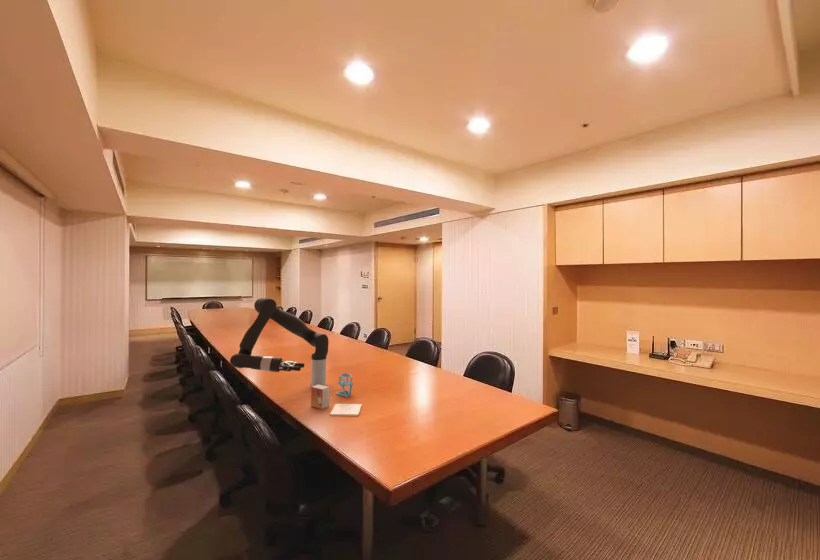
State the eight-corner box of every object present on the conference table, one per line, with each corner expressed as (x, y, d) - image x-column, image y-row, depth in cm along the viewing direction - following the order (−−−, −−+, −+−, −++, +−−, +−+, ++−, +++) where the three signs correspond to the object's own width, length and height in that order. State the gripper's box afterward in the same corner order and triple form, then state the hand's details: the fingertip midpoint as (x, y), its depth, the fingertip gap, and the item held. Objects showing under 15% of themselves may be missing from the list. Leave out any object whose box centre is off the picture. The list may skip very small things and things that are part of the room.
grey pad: (335, 405, 182) (335, 403, 182) (361, 405, 182) (361, 404, 182) (330, 415, 168) (330, 413, 168) (358, 416, 168) (358, 414, 168)
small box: (310, 406, 179) (311, 386, 179) (318, 403, 184) (318, 384, 184) (322, 409, 176) (322, 389, 176) (329, 406, 181) (329, 386, 181)
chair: (342, 398, 193) (343, 377, 193) (336, 394, 200) (336, 373, 200) (354, 395, 198) (355, 375, 198) (347, 391, 205) (348, 371, 205)
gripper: (268, 359, 172) (300, 362, 174) (276, 354, 186) (306, 357, 188) (265, 374, 172) (298, 377, 173) (274, 368, 186) (304, 371, 187)
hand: (302, 367), depth 181 cm, fingers open, 8 cm apart
